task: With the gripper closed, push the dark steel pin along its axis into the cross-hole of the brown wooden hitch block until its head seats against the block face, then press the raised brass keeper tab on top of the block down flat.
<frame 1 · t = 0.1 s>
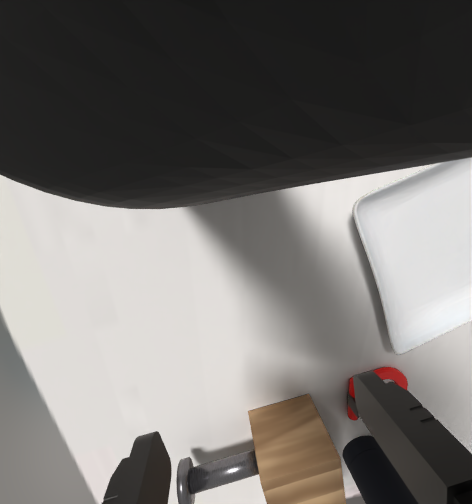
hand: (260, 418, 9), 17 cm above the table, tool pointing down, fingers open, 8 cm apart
pin: (232, 468, 29), point 4 cm above the table, slide at 0.0 cm
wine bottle: (360, 448, 37), on the table
salad plate: (433, 241, 28), on the table
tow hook: (373, 388, 34), on the table
hitch block: (285, 431, 34), on the table
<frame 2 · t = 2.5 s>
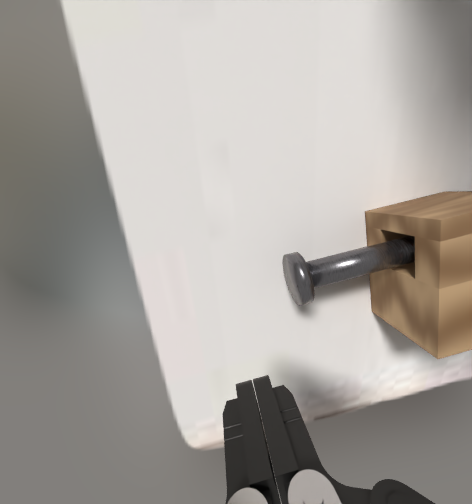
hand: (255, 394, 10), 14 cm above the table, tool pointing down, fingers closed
pin: (360, 261, 20), point 4 cm above the table, slide at 0.0 cm
hitch block: (406, 254, 25), on the table
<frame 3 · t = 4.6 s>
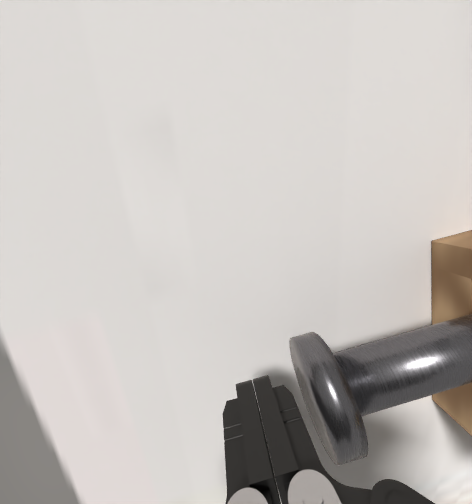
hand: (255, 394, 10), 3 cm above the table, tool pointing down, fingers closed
pin: (449, 352, 10), point 4 cm above the table, slide at 0.3 cm, touching gripper
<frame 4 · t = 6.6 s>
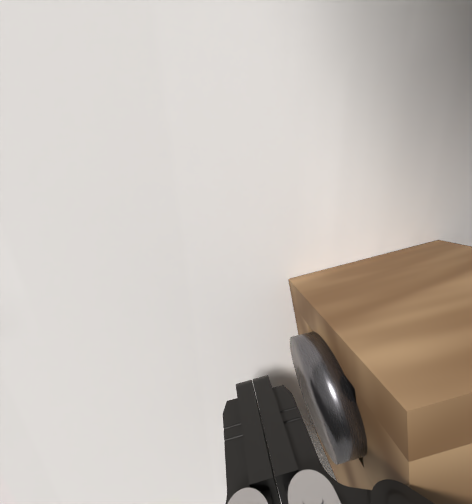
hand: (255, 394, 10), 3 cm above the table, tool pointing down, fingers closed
pin: (451, 352, 10), point 4 cm above the table, slide at 9.0 cm, touching gripper, hitch block
hitch block: (371, 346, 14), on the table
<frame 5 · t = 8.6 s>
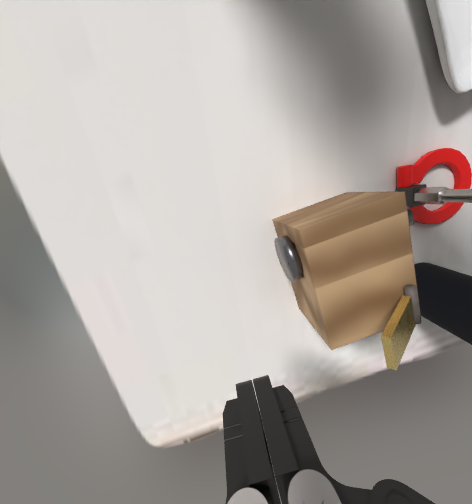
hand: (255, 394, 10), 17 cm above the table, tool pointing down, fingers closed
pin: (343, 237, 23), point 4 cm above the table, slide at 9.0 cm, touching hitch block
keeper: (399, 330, 18), point 11 cm above the table, hinge at 35.0°
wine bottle: (416, 284, 30), on the table
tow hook: (427, 188, 27), on the table
hitch block: (321, 253, 27), on the table
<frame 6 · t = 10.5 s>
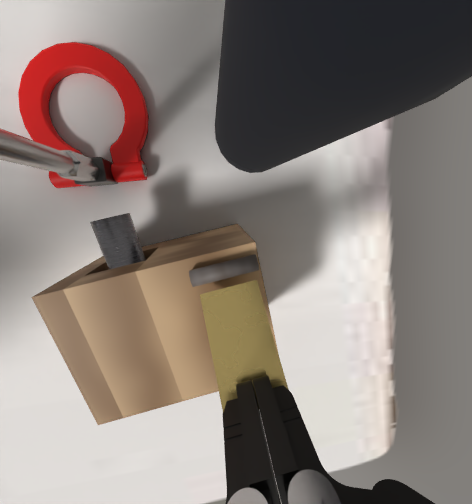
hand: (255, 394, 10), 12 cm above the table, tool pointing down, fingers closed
pin: (142, 303, 17), point 4 cm above the table, slide at 9.0 cm, touching hitch block
keeper: (242, 343, 11), point 10 cm above the table, hinge at 33.8°, touching gripper
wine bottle: (253, 132, 19), on the table
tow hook: (93, 123, 17), on the table
hitch block: (185, 286, 21), on the table
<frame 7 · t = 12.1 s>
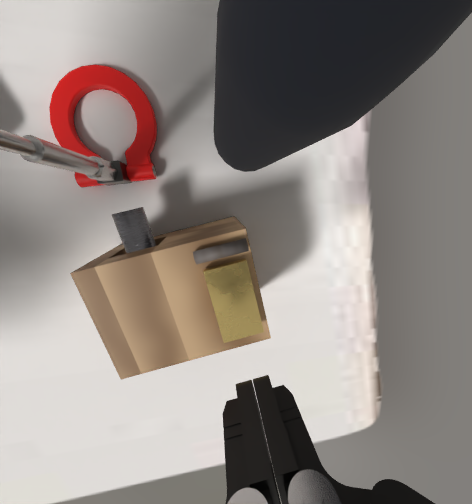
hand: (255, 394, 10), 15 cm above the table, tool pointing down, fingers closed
pin: (154, 283, 20), point 4 cm above the table, slide at 9.0 cm, touching hitch block
keeper: (234, 301, 16), point 9 cm above the table, hinge at 3.9°
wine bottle: (247, 136, 21), on the table
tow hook: (110, 131, 20), on the table
hitch block: (189, 271, 24), on the table
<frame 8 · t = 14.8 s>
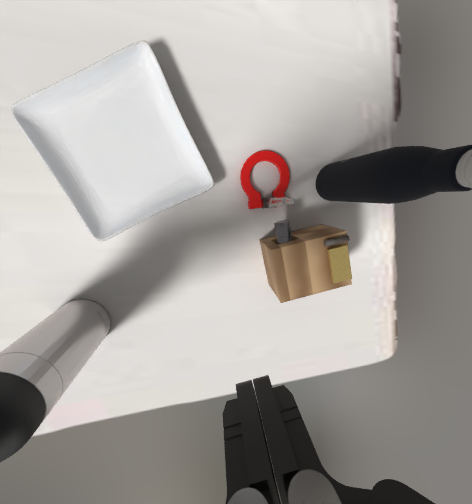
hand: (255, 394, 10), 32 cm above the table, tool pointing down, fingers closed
pin: (288, 258, 39), point 4 cm above the table, slide at 9.0 cm, touching hitch block
keeper: (339, 264, 35), point 9 cm above the table, hinge at 3.6°
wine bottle: (331, 182, 41), on the table
salad plate: (127, 153, 36), on the table
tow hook: (264, 180, 39), on the table
hitch block: (294, 254, 43), on the table
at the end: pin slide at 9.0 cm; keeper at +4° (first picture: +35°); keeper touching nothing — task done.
